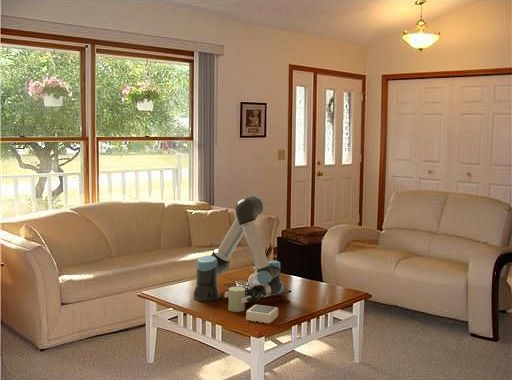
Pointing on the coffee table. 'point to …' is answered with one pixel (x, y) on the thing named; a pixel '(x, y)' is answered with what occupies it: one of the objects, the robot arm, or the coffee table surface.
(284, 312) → the coffee table surface
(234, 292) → the can
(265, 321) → the stand
